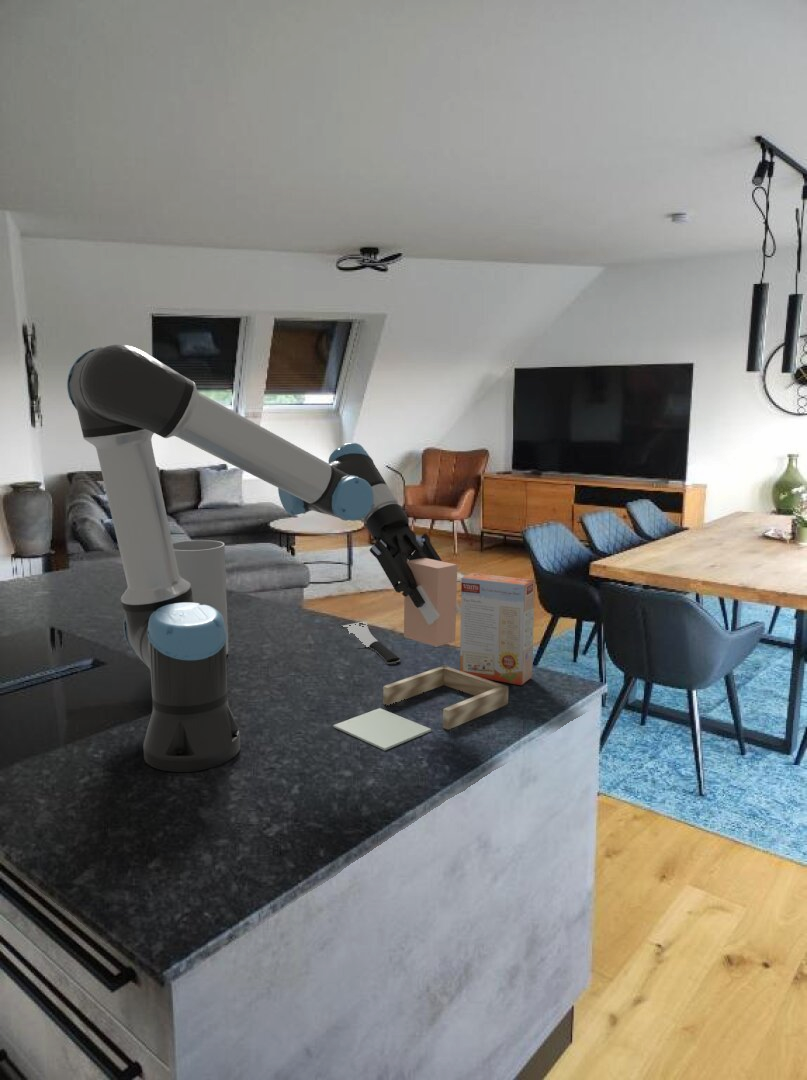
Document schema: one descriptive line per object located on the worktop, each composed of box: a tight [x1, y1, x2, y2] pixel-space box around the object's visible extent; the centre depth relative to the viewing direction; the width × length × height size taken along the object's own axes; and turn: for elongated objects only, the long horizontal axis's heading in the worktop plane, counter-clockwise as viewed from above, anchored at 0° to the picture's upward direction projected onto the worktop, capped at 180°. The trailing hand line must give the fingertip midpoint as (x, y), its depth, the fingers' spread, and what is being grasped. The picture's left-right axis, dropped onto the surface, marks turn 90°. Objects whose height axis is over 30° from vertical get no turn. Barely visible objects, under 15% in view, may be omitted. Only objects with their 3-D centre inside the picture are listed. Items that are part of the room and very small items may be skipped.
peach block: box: [403, 558, 458, 648], centre depth 142 cm, size 5×8×14 cm, turn 45°
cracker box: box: [459, 572, 536, 686], centre depth 162 cm, size 14×6×21 cm, turn 59°
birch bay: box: [382, 665, 509, 730], centre depth 149 cm, size 17×16×4 cm
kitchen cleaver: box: [342, 621, 401, 665], centre depth 185 cm, size 31×2×10 cm
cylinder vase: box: [172, 539, 229, 656], centre depth 174 cm, size 12×12×25 cm
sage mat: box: [333, 707, 432, 752], centre depth 138 cm, size 11×13×1 cm
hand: (445, 617), depth 140 cm, fingers closed on peach block, 5 cm apart
